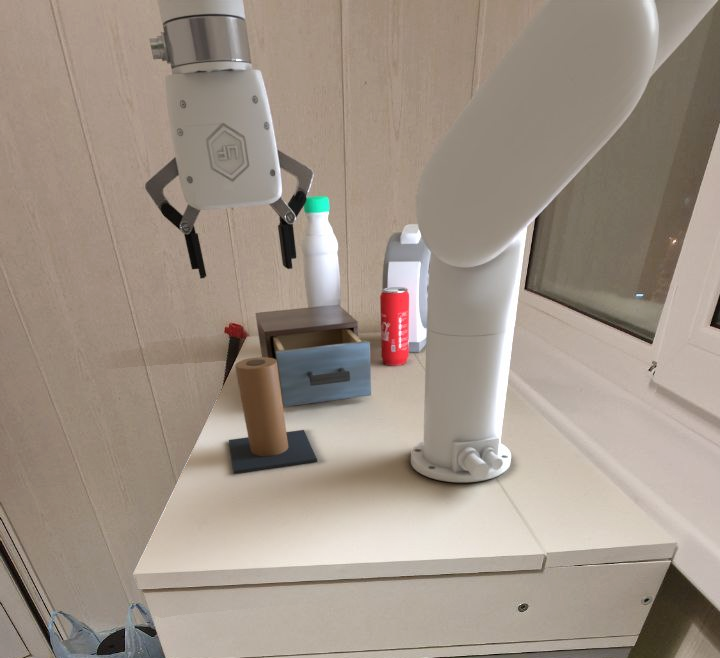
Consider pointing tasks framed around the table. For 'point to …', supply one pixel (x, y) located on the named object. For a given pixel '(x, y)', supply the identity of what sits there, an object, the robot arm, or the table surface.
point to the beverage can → (394, 325)
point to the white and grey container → (410, 278)
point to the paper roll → (262, 405)
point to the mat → (294, 455)
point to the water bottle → (320, 255)
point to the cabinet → (301, 323)
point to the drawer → (322, 366)
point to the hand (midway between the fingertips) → (245, 272)
